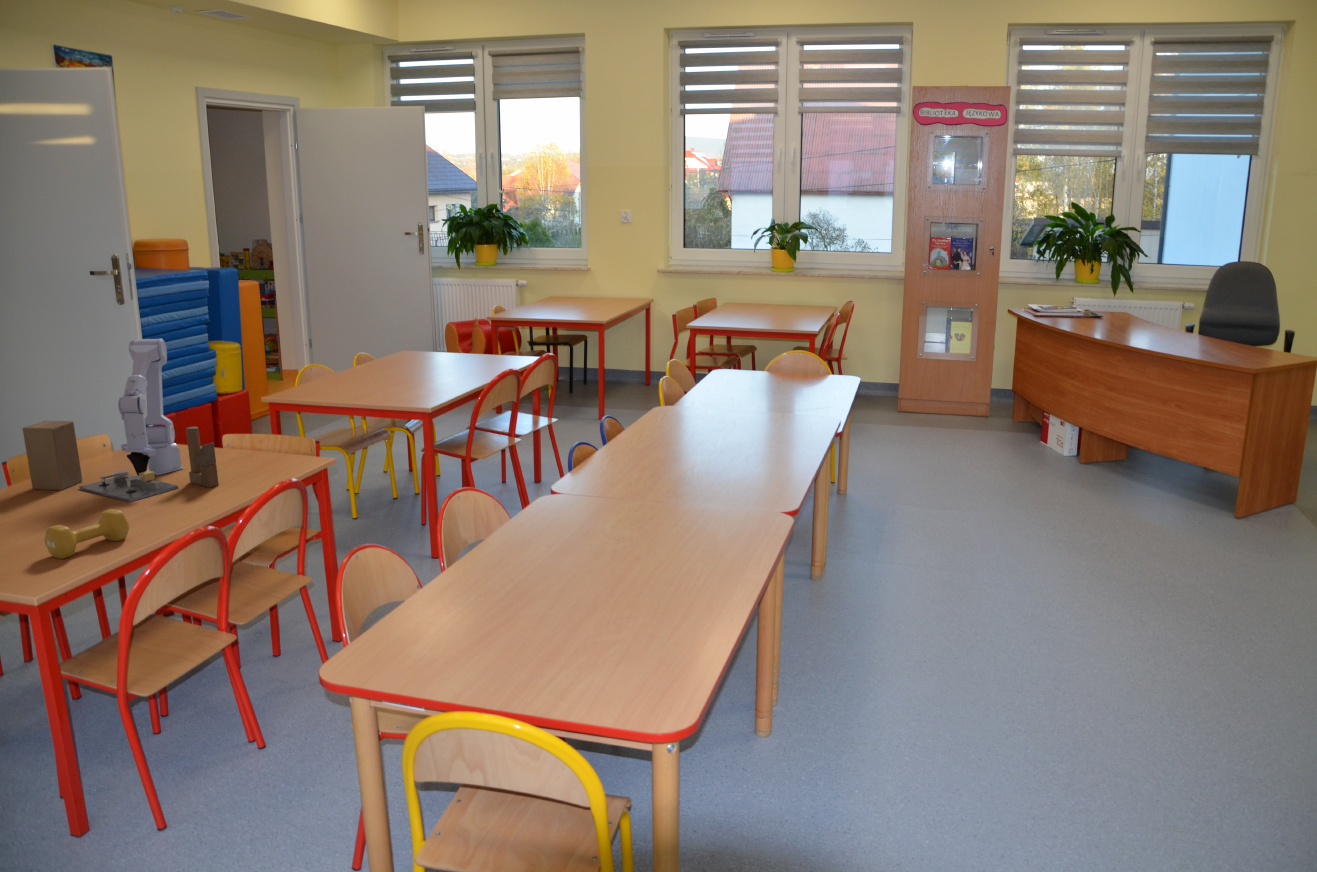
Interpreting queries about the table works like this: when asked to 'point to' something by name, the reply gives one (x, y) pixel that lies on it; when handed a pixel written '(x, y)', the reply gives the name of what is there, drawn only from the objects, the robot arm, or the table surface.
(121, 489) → the hole plate
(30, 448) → the wooden block
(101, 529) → the dumbbell
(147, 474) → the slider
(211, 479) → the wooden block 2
